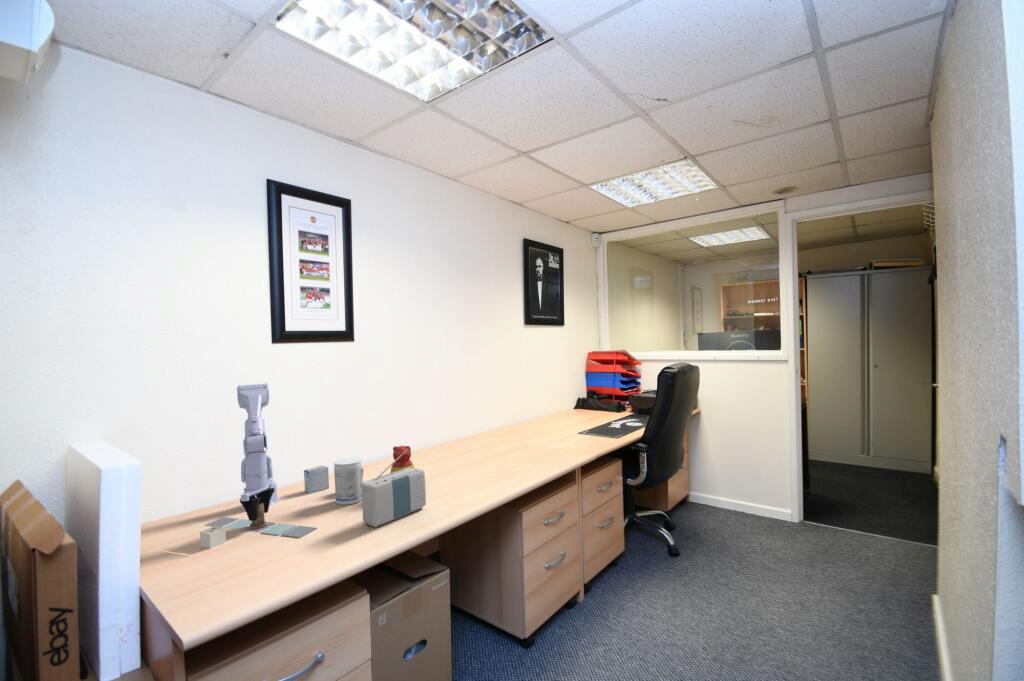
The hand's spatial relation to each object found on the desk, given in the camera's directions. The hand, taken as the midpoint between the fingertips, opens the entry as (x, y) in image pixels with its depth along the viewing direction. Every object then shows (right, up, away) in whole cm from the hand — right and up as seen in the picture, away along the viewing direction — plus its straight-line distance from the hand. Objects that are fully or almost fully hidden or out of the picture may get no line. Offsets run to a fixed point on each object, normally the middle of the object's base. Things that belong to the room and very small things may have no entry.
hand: (258, 516), depth 145 cm
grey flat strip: (0, -4, 0) cm, 4 cm away
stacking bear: (+39, -2, +28) cm, 48 cm away
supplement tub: (+21, -3, +21) cm, 30 cm away
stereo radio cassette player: (+42, -2, +5) cm, 42 cm away
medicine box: (+3, -4, +36) cm, 36 cm away
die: (-7, -4, -12) cm, 14 cm away
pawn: (0, -3, 0) cm, 3 cm away
